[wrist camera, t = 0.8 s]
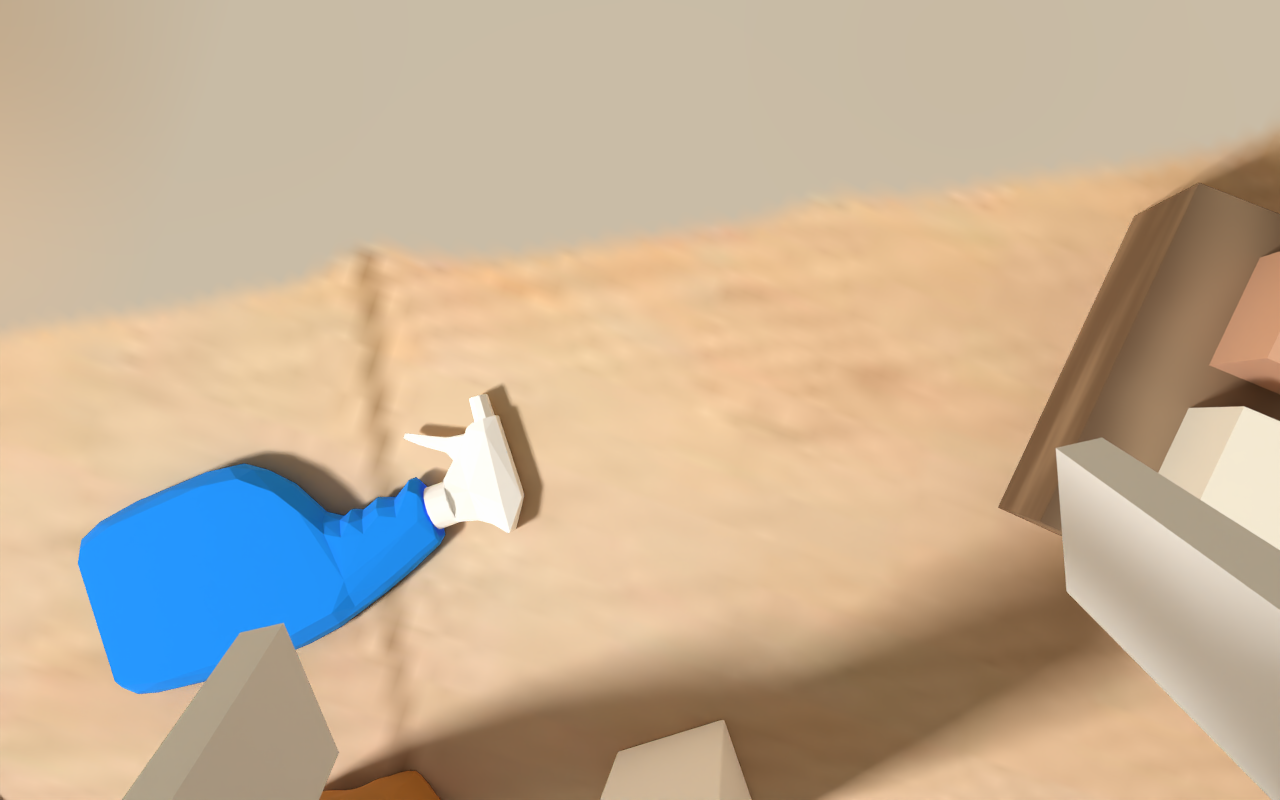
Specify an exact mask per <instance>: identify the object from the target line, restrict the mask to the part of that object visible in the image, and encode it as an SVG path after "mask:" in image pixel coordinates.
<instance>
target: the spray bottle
mask: <svg viewBox="0 0 1280 800" xmlns="http://www.w3.org/2000/svg"><path fill="white" fill-rule="evenodd" d="M469 400H470V404H471V409H472V413H473V418H474V422H473V423H472V424H470V425H469V426H468V427H467V428H466V431H465V434H461V435H456V436H451V437H436V436H424V435H415V434H409V433H405V436H404V439H406V440H409V441H411V442H414V443H416V444H419V445H421V446H425V447H428V448H432V449H436V450H439V451H443V452H446V453H447V454H448V455H449V456H450V457H451V458H452V459H453V462H452V464H451V466H450V468H449V470H448V472H447V474H446V476H445V478H444V480H443V482H440V483H438V484H435V485H432V486H429V487H427V486H426V485H425V484H424V483H423V482H422V481H421V480H419V479H418V478H417V477H415V478H413V479H410V480H409V481H408V482H407V484H406V485H405V486H404V487H403V489H402V490H401V491H400V493H399V494H398V495H397V497H378V498H376V499H375V500H374V501H373V502H372V503H371V504H369V505H368V506H367V507H366V508H365V509H364V510H363V509H352V510H350V511H349V512H348V513H347V514H346V515H345V516H344V515H339V514H335V513H330V512H327V511H326V510H325V509H324V508H323V507H321V506H320V505H319V504H318V503H317V502H316V501H315V500H314V499H313V498H312V497H310V496H309V495H308V494H307V493H306V492H305V491H304V490H303V489H302V488H301V487H299V486H298V485H297V484H296V483H294V482H292V481H290V480H288V479H286V478H284V477H282V476H280V475H278V474H276V473H274V472H272V471H270V470H267V469H264V468H260V467H256V466H253V465H249V464H245V463H244V464H239V465H235V466H231V467H226V468H222V469H218V470H214V471H209V472H205V473H203V474H201V475H198V476H196V477H194V478H191V479H189V480H186V481H184V482H182V483H179V484H177V485H175V486H172V487H170V488H167V489H165V490H163V491H160V492H158V493H156V494H153V495H151V496H148V497H146V498H144V499H141V500H139V501H137V502H135V503H133V504H131V505H130V506H128V507H126V508H124V509H122V510H121V511H119V512H117V513H115V514H113V515H112V516H110V517H108V518H106V519H104V520H103V521H101V522H99V523H98V524H97V525H96V526H95V527H94V528H93V529H92V530H91V531H90V532H89V533H88V534H87V535H86V536H85V537H84V538H83V539H82V540H81V546H80V553H79V560H78V565H79V568H80V571H81V575H82V578H83V581H84V584H85V587H86V591H87V594H88V597H89V600H90V603H91V607H92V610H93V613H94V616H95V619H96V622H97V626H98V629H99V632H100V635H101V638H102V642H103V645H104V648H105V651H106V654H107V658H108V661H109V664H110V667H111V670H112V673H113V677H114V680H115V682H116V683H118V684H119V685H120V686H121V687H123V688H125V689H127V690H130V691H132V692H135V693H137V694H144V693H156V692H162V691H166V690H170V689H175V688H179V687H183V686H188V685H192V684H196V683H201V682H205V681H206V680H207V679H208V677H209V676H210V674H211V673H212V672H213V670H214V669H215V667H216V666H217V665H218V663H219V662H220V660H221V659H222V657H223V656H224V655H225V653H226V652H227V650H228V649H229V648H230V646H231V645H232V643H233V642H234V640H235V639H236V638H237V636H238V635H239V633H241V632H245V631H250V630H254V629H258V628H263V627H267V626H272V625H276V624H281V623H284V625H285V627H286V629H287V632H288V634H289V636H290V639H291V641H292V643H293V646H294V648H295V650H296V649H298V648H301V647H303V646H305V645H308V644H310V643H312V642H314V641H316V640H318V639H320V638H321V637H323V636H325V635H327V634H329V633H331V632H333V631H334V630H336V629H338V628H340V627H342V626H343V625H344V624H345V623H347V622H348V621H349V620H351V619H352V618H353V617H355V616H356V615H357V614H359V613H360V612H361V611H363V610H364V609H365V608H367V607H368V606H369V605H371V604H372V603H373V602H374V601H376V600H377V599H378V598H380V597H381V596H382V595H384V594H385V593H386V592H388V591H389V590H390V589H391V588H392V587H394V586H395V585H396V584H397V583H398V582H399V581H401V580H402V579H403V578H404V577H405V576H407V575H408V574H409V573H410V572H411V571H412V570H414V569H415V568H416V567H417V566H418V565H419V564H420V563H421V562H422V561H423V560H424V559H425V558H426V557H427V556H428V555H429V554H430V553H431V552H432V551H434V550H435V549H436V548H437V547H438V546H439V545H440V544H441V542H442V540H443V538H444V536H445V530H444V528H445V527H448V526H450V525H453V524H456V523H458V522H463V521H475V520H480V521H483V522H487V523H491V524H494V525H495V526H497V527H499V528H500V529H502V530H504V531H505V532H507V533H509V532H511V531H513V530H515V529H516V527H517V523H518V519H519V515H520V511H521V507H522V503H523V499H524V492H523V489H522V486H521V482H520V479H519V476H518V473H517V470H516V467H515V464H514V461H513V458H512V455H511V452H510V449H509V446H508V443H507V439H506V436H505V433H504V430H503V427H502V424H501V421H500V418H499V416H498V415H494V412H493V409H492V406H491V403H490V400H489V397H488V394H483V395H478V396H475V397H472V398H470V399H469Z"/></svg>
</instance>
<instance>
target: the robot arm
mask: <svg viewBox="0 0 1280 800" xmlns="http://www.w3.org/2000/svg"><path fill="white" fill-rule="evenodd" d="M1056 459H1057V472H1058V486H1059V499H1060V512H1061V525H1062V538H1063V551H1064V565H1065V578H1066V591H1067V593H1068V594H1069V595H1070V596H1071V597H1072V598H1073V599H1074V600H1075V601H1076V602H1077V603H1078V604H1079V605H1080V606H1081V607H1082V608H1083V609H1084V610H1085V611H1086V612H1087V613H1088V614H1089V615H1090V616H1091V617H1092V618H1093V619H1094V620H1095V621H1096V622H1097V623H1098V624H1099V625H1100V626H1101V627H1102V628H1103V629H1104V630H1105V631H1106V632H1107V633H1108V634H1109V635H1110V636H1111V637H1112V638H1113V639H1114V640H1115V641H1116V642H1117V643H1118V644H1119V645H1120V646H1121V647H1122V648H1123V649H1124V650H1125V651H1126V652H1127V653H1128V654H1129V655H1130V656H1131V657H1132V658H1133V660H1134V661H1135V662H1136V663H1137V664H1138V665H1139V666H1140V667H1141V668H1142V669H1143V670H1144V671H1145V672H1146V673H1147V674H1148V675H1149V676H1150V677H1151V678H1152V679H1153V680H1154V681H1155V682H1156V683H1157V684H1158V685H1159V686H1160V687H1161V688H1162V689H1163V690H1164V691H1165V692H1166V693H1167V694H1168V695H1169V696H1170V697H1171V698H1172V699H1173V700H1174V701H1175V702H1176V703H1177V704H1178V705H1179V706H1180V707H1181V708H1182V709H1183V710H1184V711H1185V712H1186V713H1187V714H1188V715H1189V716H1190V717H1191V718H1192V719H1193V720H1194V721H1195V722H1196V723H1197V724H1198V725H1199V726H1200V727H1201V728H1202V729H1203V731H1204V732H1205V733H1206V734H1207V735H1208V736H1209V737H1210V738H1211V739H1212V740H1213V741H1214V742H1215V743H1216V744H1217V745H1218V746H1219V747H1220V748H1221V749H1222V750H1223V751H1224V752H1225V753H1226V754H1227V755H1228V756H1229V757H1230V758H1231V759H1232V760H1233V761H1234V762H1235V763H1236V764H1237V765H1238V766H1239V767H1240V768H1241V769H1242V770H1243V771H1244V772H1245V773H1246V774H1247V775H1248V776H1249V777H1250V778H1251V779H1252V780H1253V781H1254V782H1255V783H1256V784H1257V785H1258V786H1259V787H1260V788H1261V789H1262V790H1263V791H1264V792H1265V793H1266V794H1267V795H1268V796H1269V797H1270V798H1271V799H1272V800H1280V550H1279V549H1277V548H1276V547H1274V546H1272V545H1271V544H1269V543H1268V542H1266V541H1265V540H1263V539H1261V538H1260V537H1258V536H1257V535H1255V534H1253V533H1252V532H1250V531H1249V530H1247V529H1246V528H1244V527H1242V526H1241V525H1239V524H1238V523H1236V522H1235V521H1233V520H1231V519H1230V518H1228V517H1227V516H1225V515H1224V514H1222V513H1220V512H1219V511H1217V510H1216V509H1214V508H1212V507H1211V506H1209V505H1208V504H1206V503H1205V502H1203V501H1201V500H1200V499H1198V498H1197V497H1195V496H1194V495H1192V494H1190V493H1189V492H1187V491H1186V490H1184V489H1183V488H1181V487H1179V486H1178V485H1176V484H1175V483H1173V482H1171V481H1170V480H1168V479H1167V478H1165V477H1164V476H1162V475H1160V474H1159V473H1157V472H1156V471H1154V470H1153V469H1151V468H1149V467H1148V466H1146V465H1145V464H1143V463H1142V462H1140V461H1138V460H1137V459H1135V458H1134V457H1132V456H1130V455H1129V454H1127V453H1126V452H1124V451H1123V450H1121V449H1119V448H1118V447H1116V446H1115V445H1113V444H1112V443H1110V442H1108V441H1107V440H1105V439H1104V438H1098V439H1093V440H1089V441H1084V442H1080V443H1076V444H1071V445H1067V446H1062V447H1058V448H1056ZM338 753H339V752H338V749H337V747H336V745H335V742H334V740H333V738H332V735H331V733H330V731H329V728H328V726H327V724H326V721H325V719H324V716H323V714H322V712H321V709H320V707H319V705H318V702H317V700H316V698H315V695H314V693H313V691H312V688H311V686H310V683H309V681H308V679H307V676H306V674H305V672H304V669H303V667H302V665H301V662H300V660H299V658H298V655H297V653H296V651H295V648H294V646H293V643H292V641H291V639H290V636H289V634H288V632H287V629H286V627H285V625H284V623H281V624H276V625H272V626H267V627H263V628H258V629H254V630H250V631H245V632H241V633H239V635H238V636H237V638H236V639H235V640H234V642H233V643H232V645H231V646H230V648H229V649H228V650H227V652H226V653H225V655H224V656H223V657H222V659H221V660H220V662H219V663H218V665H217V666H216V667H215V669H214V670H213V672H212V673H211V674H210V676H209V677H208V679H207V680H206V682H205V683H204V684H203V686H202V687H201V689H200V690H199V691H198V693H197V694H196V696H195V697H194V699H193V700H192V701H191V703H190V704H189V706H188V707H187V708H186V710H185V711H184V713H183V714H182V716H181V717H180V718H179V720H178V721H177V723H176V724H175V725H174V727H173V728H172V730H171V731H170V733H169V734H168V735H167V737H166V738H165V740H164V741H163V742H162V744H161V745H160V747H159V748H158V750H157V751H156V752H155V754H154V755H153V757H152V758H151V759H150V761H149V762H148V764H147V765H146V767H145V768H144V769H143V771H142V772H141V774H140V775H139V776H138V778H137V779H136V781H135V782H134V784H133V785H132V786H131V788H130V789H129V791H128V792H127V793H126V795H125V796H124V798H123V799H122V800H319V799H320V796H321V794H322V792H323V789H324V787H325V784H326V782H327V780H328V777H329V775H330V772H331V770H332V768H333V765H334V763H335V760H336V758H337V756H338Z"/></svg>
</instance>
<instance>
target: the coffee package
mask: <svg viewBox="0 0 1280 800" xmlns="http://www.w3.org/2000/svg"><path fill="white" fill-rule="evenodd" d="M319 800H441V799H440V798H439V797H438V796H437V795H436V794H435V792H434V791H433V789H432V788H431V786H430V784H429V783H428V782H427V781H426V780H425V779H424V778H423V776H422V775H421V774H419V773H418V772H417V771H404V772H400V773H396V774H394V775H391V776H387V777H383V778H379V779H377V780H374V781H372V782H370V783H368V784H366V785H364V786H362V787H359V788H356V789H351V790H327V791H323V792H322V794H321V796H320V799H319Z"/></svg>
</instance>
